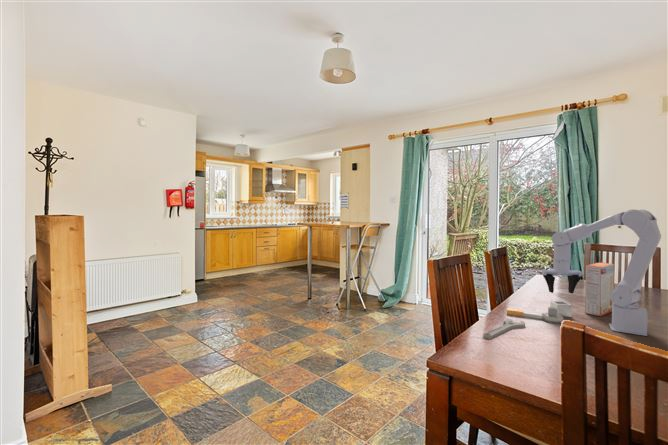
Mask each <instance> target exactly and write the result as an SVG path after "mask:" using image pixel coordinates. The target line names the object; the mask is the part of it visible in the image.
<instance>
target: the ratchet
mask: <svg viewBox="0 0 668 445" xmlns="http://www.w3.org/2000/svg"><path fill="white" fill-rule="evenodd" d="M508 315H509V316H512V317H513V316H514V317H519V318H520V317H521V318H526V319H534V320H539V321H544V322H545V323H549V324H558V323H559V324H562V323H561V322H562V321H563V322H564V317H563V316H561V315H558V314H557V308H554V307H550V306H548V308H547V312H544V313H537V312H536V313H535V312H528V311H524V310H523V309H516V308H515V309H514V308H506V316H508ZM559 324H558V325H559Z"/></svg>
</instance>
